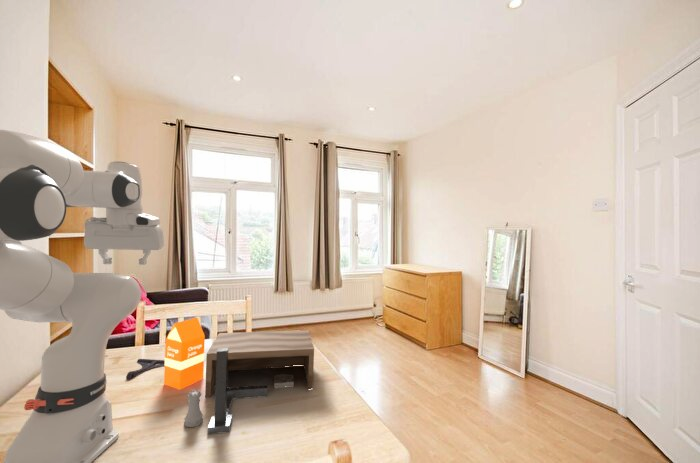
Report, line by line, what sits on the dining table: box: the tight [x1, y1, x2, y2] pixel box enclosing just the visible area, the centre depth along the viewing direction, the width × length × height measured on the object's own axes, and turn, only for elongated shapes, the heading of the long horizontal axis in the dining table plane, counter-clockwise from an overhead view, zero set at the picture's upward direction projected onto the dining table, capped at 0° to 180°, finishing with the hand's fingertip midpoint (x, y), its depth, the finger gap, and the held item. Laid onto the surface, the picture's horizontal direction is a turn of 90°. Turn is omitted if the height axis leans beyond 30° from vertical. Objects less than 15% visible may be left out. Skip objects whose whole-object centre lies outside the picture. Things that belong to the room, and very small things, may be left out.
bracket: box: [125, 358, 165, 381], centre depth 113 cm, size 14×15×3 cm
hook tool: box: [207, 348, 269, 435], centre depth 89 cm, size 18×14×20 cm
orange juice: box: [163, 317, 206, 390], centre depth 106 cm, size 8×9×20 cm
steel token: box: [273, 373, 295, 388], centre depth 107 cm, size 6×6×2 cm
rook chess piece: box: [183, 389, 204, 428], centre depth 83 cm, size 4×4×8 cm
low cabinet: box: [204, 329, 315, 398], centre depth 109 cm, size 20×32×13 cm, turn 102°
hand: (125, 264), depth 97 cm, fingers open, 8 cm apart
